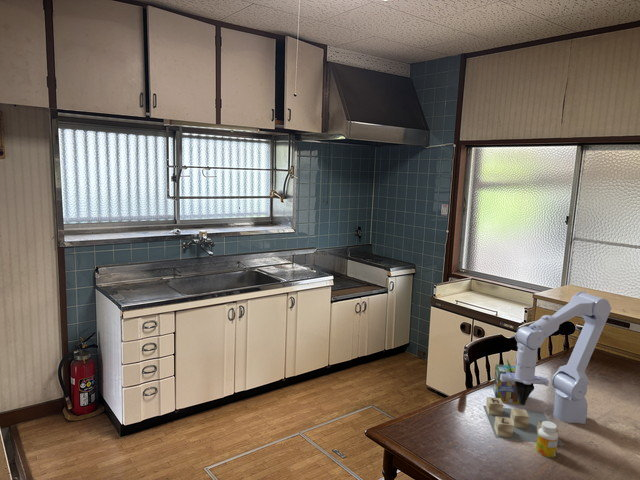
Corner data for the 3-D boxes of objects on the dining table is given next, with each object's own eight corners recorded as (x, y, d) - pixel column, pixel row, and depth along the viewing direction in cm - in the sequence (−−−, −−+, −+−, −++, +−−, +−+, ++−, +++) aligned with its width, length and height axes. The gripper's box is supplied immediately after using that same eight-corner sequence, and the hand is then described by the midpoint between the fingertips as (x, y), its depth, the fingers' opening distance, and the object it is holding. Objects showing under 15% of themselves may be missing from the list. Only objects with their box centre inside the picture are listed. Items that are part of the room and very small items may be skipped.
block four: (499, 409, 162) (500, 398, 161) (502, 415, 157) (503, 404, 157) (485, 407, 162) (487, 396, 162) (488, 414, 158) (489, 403, 157)
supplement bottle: (531, 449, 140) (535, 419, 139) (548, 449, 141) (552, 419, 139) (541, 460, 135) (545, 429, 134) (559, 460, 136) (563, 429, 134)
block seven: (508, 429, 149) (510, 417, 148) (512, 437, 144) (513, 425, 144) (494, 427, 150) (495, 416, 149) (497, 435, 145) (498, 423, 144)
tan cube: (551, 434, 147) (553, 422, 146) (556, 442, 143) (558, 430, 142) (536, 432, 148) (538, 420, 147) (541, 440, 143) (542, 428, 143)
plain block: (524, 421, 154) (525, 409, 154) (528, 428, 150) (529, 416, 149) (510, 419, 155) (511, 408, 154) (513, 426, 151) (514, 415, 150)
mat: (542, 414, 161) (542, 411, 161) (563, 448, 141) (564, 445, 141) (482, 408, 164) (482, 405, 164) (495, 440, 144) (495, 437, 144)
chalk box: (523, 407, 166) (527, 368, 163) (496, 403, 167) (500, 364, 165) (517, 395, 175) (522, 357, 172) (492, 391, 176) (496, 354, 174)
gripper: (505, 367, 147) (501, 407, 149) (554, 371, 145) (549, 412, 147) (500, 358, 154) (496, 396, 156) (546, 362, 152) (541, 401, 154)
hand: (521, 403), depth 152 cm, fingers closed
